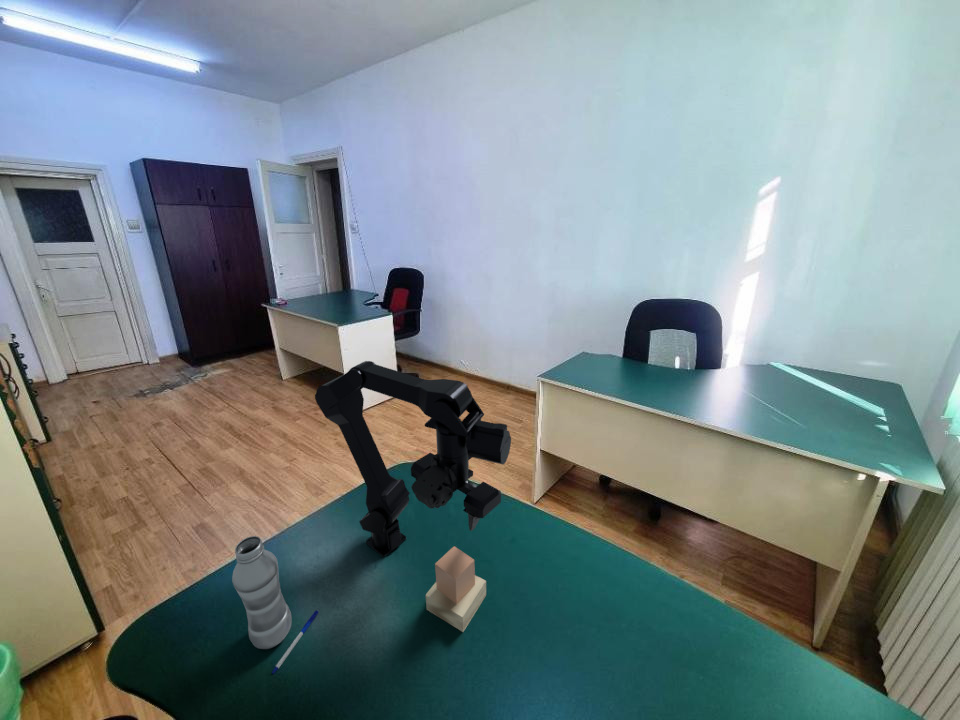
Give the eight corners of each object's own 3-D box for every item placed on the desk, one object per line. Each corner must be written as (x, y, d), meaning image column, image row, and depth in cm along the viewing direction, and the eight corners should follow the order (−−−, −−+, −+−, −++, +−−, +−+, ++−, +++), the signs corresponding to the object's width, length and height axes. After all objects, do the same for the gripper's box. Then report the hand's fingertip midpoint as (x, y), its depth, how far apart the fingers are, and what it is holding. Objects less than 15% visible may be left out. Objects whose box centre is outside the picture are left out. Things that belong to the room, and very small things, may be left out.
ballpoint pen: (315, 611, 68) (314, 607, 68) (319, 613, 68) (318, 609, 68) (271, 674, 59) (270, 670, 59) (276, 676, 59) (275, 671, 58)
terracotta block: (436, 588, 68) (434, 563, 66) (455, 569, 72) (454, 546, 70) (456, 604, 65) (455, 579, 63) (475, 584, 69) (474, 560, 67)
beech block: (426, 611, 68) (425, 595, 67) (451, 577, 75) (451, 562, 74) (463, 633, 65) (462, 617, 63) (486, 596, 71) (486, 580, 70)
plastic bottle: (251, 663, 60) (220, 570, 53) (253, 626, 66) (226, 537, 59) (294, 643, 63) (271, 552, 56) (293, 609, 69) (271, 523, 62)
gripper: (385, 449, 68) (391, 518, 73) (459, 495, 56) (461, 572, 62) (430, 426, 76) (433, 489, 81) (503, 461, 64) (502, 532, 70)
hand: (454, 517), depth 73 cm, fingers open, 9 cm apart
